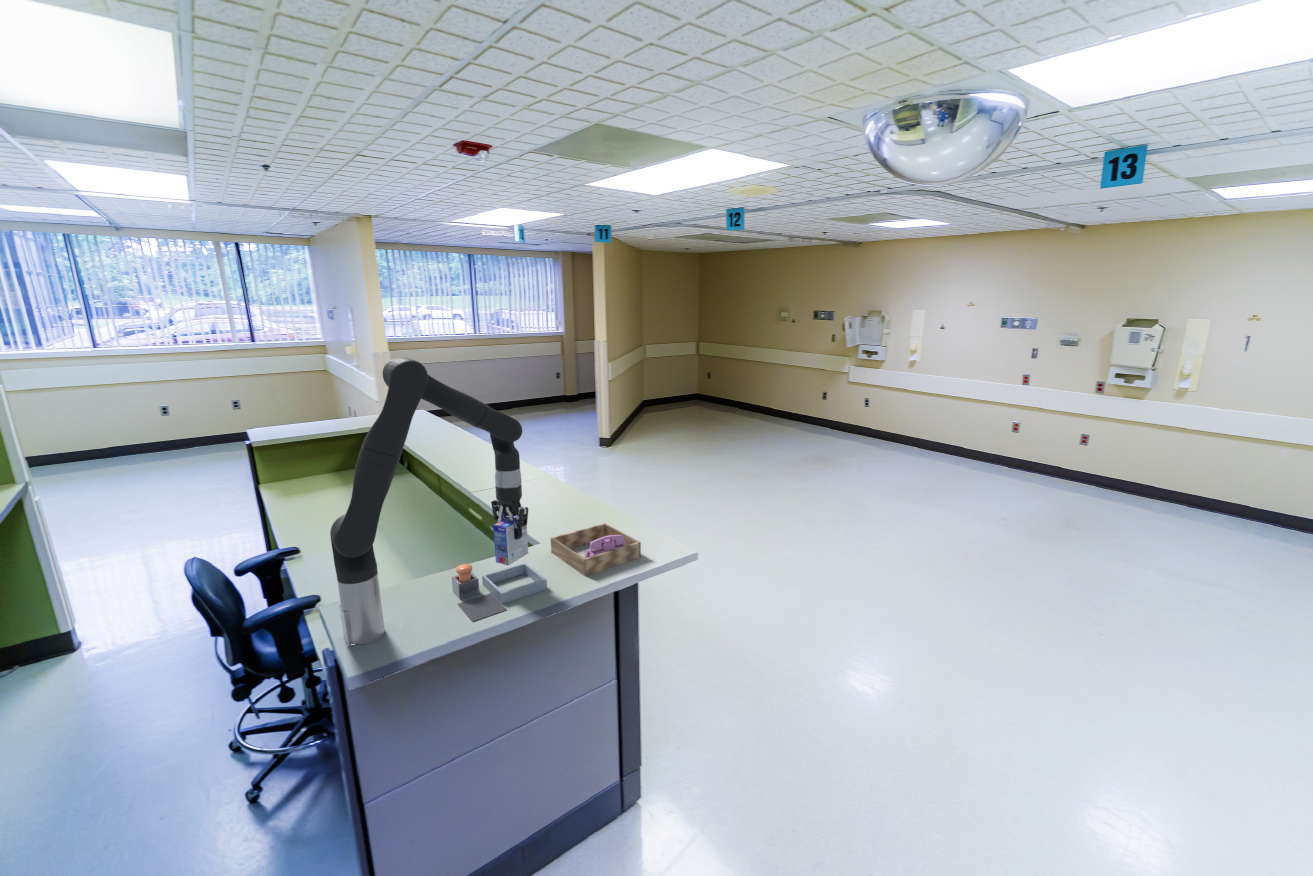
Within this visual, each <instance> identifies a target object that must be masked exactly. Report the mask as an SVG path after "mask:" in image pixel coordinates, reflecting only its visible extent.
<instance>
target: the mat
mask: <svg viewBox="0 0 1313 876" xmlns="http://www.w3.org/2000/svg"><path fill="white" fill-rule="evenodd" d="M457 606H458V607H459V608H460V609H461V610H462V612H463V613H464V614H465V615H466V616H467V617H468V618H469V620H470V621H471V623H473V622H475V623H476V622H478V621H480V620H483V619H487V618H488V617H492V616H494V615H497V614H501V613H504V612H506V611H508V609H507V608H506V606H504V604H501V603H500V602H499V601H498V600H497V599H496V598H495V597H494V596H493V595H492V594H491V593H490V592H489V593H488V594H483V595H480V596H477V597H475V598H472V599H468V600H465V601H462V602H458V603H457Z"/></svg>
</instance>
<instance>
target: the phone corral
mask: <svg viewBox="0 0 1313 876" xmlns="http://www.w3.org/2000/svg"><path fill="white" fill-rule="evenodd" d="M610 535H623V536H624V542H626V544H624V545H626V546H623V547H620V548H617V549H614V550H610V551H607V552H604V553H601V554H597V555H594V556H591V557H588V558H585V556H584V557H583V556H582V555H581V554H579V553H577V552H576V551H574V550H573V549H572V548H575V547H579V546H581V545H585V544H590V542H592V541H594V540H596V539H599V538H601V537H604V536H610ZM641 545H642V544H641V541H639V540H637V539H635V538H633V537H632V536H629V535H627V534H626V533H624V532H622V531H620V530H619V529H617V528H614V527H613V526H611V525H609V524H607V523H600V524H598V525H593V526H590V527H589V526H588V527H585V528H583V529H582V528H581V529H579V530H575V531H571V532H568V533H565V534H559V535H557V536H553V537H551V538H550V553H551V554H553V556H555V557H557V558H558V559H559V560H561V561H563V562H564V563H565V564H566V565H568V566H569V567H571V568H572V569H574V570H575V571H576V572H578V573H579V574H581V575H582V576H584V577H586V576H590V575H592V573H593V574H596V573H599V572H602V571H605V570H607V569H609V568H614V567H616V566H619V565H622V564H624V563H625V564H626V563H628V562H631V561H634V560H636V559H640V558H641V556H642V552H641V550H642V546H641ZM601 570H602V571H601ZM595 572H596V573H595Z"/></svg>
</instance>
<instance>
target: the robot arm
mask: <svg viewBox="0 0 1313 876" xmlns="http://www.w3.org/2000/svg"><path fill="white" fill-rule="evenodd" d="M382 379H383V381H384V384H385V385H386V386H387V387H388V389H387V393H386V396H385V397H386V398H385V401H384V404H383V407H382V409H381V412H380V414H379V415H378V417H377V419H376V420H375V421H374V423H373V424H372V425H371V427H370V429H369V430H368V431H367V434H366V436H365V437H364V440H363V442H362V444H361V447H360V449H359V453H358V456H357V460H356V462H355V468H354V476H353V481H352V494H351V498H350V502H349V505H348V507H347V510H346V512H345V514H343V515H341V516H339V517H338V518H337V519H335V520H334V521H333V524H331V528H330V532H329V533H330V543H331V549H332V556H333V563H334V567H335V574H336V580H337V588H338V595H339V601H340V603H339V612H340V619H341V626H342V633H343V637H345V638H344V640H346V641H345V642H347V643H346V645H347V644H348V645H351V644H364V645H368V644H370V643H373V642H375V641H377V640H379V639H380V638H382V636H383V635H384V634H385V622H384V615H383V605H382V597H381V587H380V581H379V580H380V579H379V571H378V563H377V560H376V556H375V555H376V554H375V550H374V544H375V539H376V535H377V531H378V530H377V529H378V526H379V521H380V516H381V512H382V509H383V505H384V502H385V500H386V497H387V495H388V492H389V490H390V488H391V485H392V482H393V479H394V476H395V473H396V471H397V469H398V465H399V463H400V460H401V456H402V454H403V450H404V447H405V443H406V441H407V437H408V434H409V431H410V427H411V424H412V422H413V421H412V420H413V417H414V415H415V413H416V410H417V408H418V406H419V404H420V401H421V400H423V401H425V402H428V403H429V404H432V405H434V406H435V407H437V408H439V409H441V410H442V411H445V412H446V413H448V414H450V415H451V416H453V417H455V418H457V419H459V420H461V421H462V422H464V423H466V424H468V425H471V426H472V427H475V428H477V429H480V430H483V431H485V432H486V433H489V436H490V440H491V441H490V442H491V445H492V450H493V452H494V469H495V473H494V484H495V499H494V500H491V503H490V504H491V509H492V516H493V519H494V521H497V523H498V522H500V521H502V520H504V519H503V516H502V514H505V518H507V517H510V520H511V521H512V522H513V525H514V527H515V528H514V539H516V540H518V539H520V538H521V537H522V527H523V526H526V525H527V526H528V519H529V507H528V506H526V507H523V506H522V504H521V499H522V498H523V491H522V490H523V489H522V486H523V485H522V473H521V459H520V452H519V450H518V449H517V448H516V447H515V443H514V442H516V441H519V440H520V438H521V437H522V435H523V426H522V424H521V423H520V422H519V420H518V419H516V418H514V417H512V416H509V415H507V414H505V413H503V412H500V411H498V410H496V409H494V408H492V407H491V406H489V405H488V404H487V403H484V402H483V401H480V400H478V399H477V398H475V397H473V396H471V395H469V394H467V393H465V392H462V391H460V390H457V389H456V388H453V387H451V386H450V385H448V384H445V383H443V382H441V381H439V380H437V379H435V377H432V376H431V375H429V374H428V371H427V368H426V367H425V365H423V364H422V363H421V362H419V361H418V360H415V359H412V358H409V357H396V358H392V359H390V360H389V361H388V362H386V363H385V364H384V366H383V369H382ZM516 515H517V517H515V518H514V517H513V516H516ZM516 520H518V524H517V522H516ZM348 645H347V646H348Z"/></svg>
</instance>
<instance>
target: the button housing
mask: <svg viewBox="0 0 1313 876" xmlns="http://www.w3.org/2000/svg"><path fill="white" fill-rule="evenodd" d="M470 573H471V580H468V581H464V582H461V583H460V582H459V574H458V575H454V576H451V585H452V586H451V587H452V593H454V595H455V596H456V597H457V599H458V600H462V599H466V598H469V597H473V596H474V595H479V594H480V582H479V580H480V579H479V577H477V576H476V575H475V573H473V572H472V571H471V572H470Z"/></svg>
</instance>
